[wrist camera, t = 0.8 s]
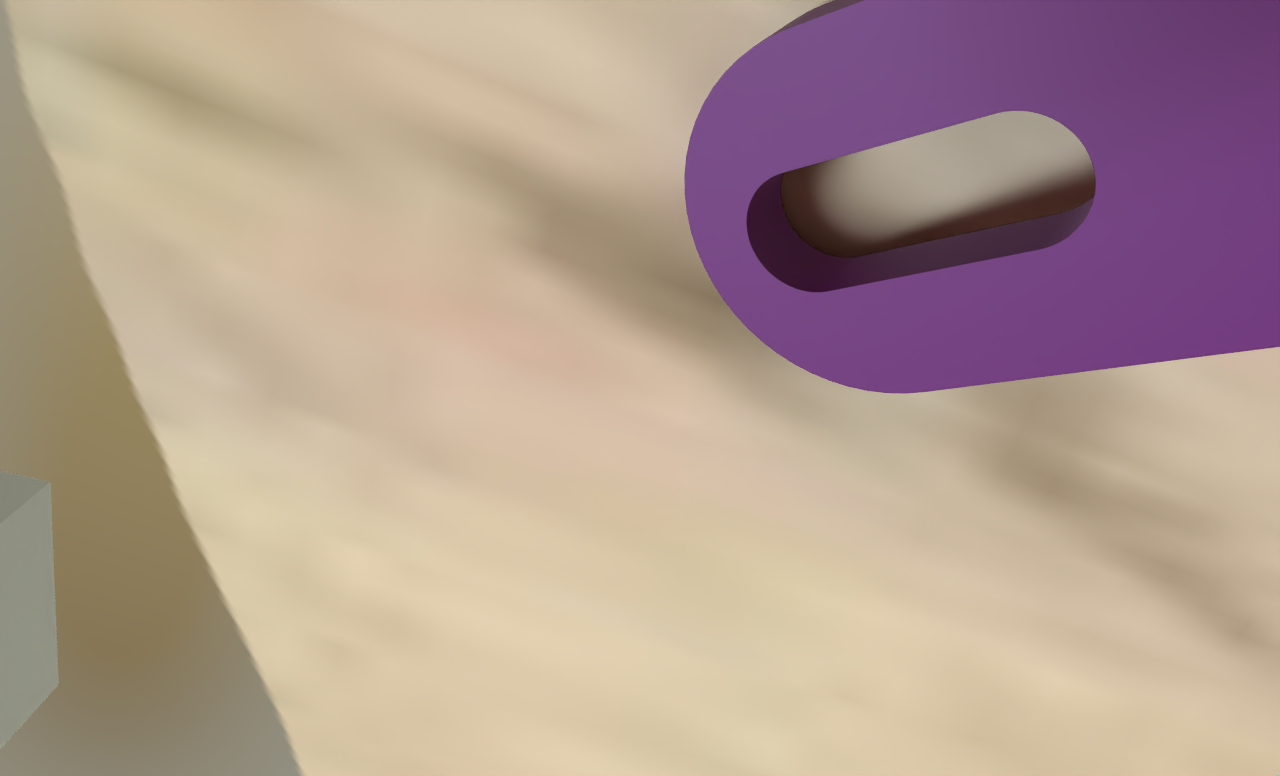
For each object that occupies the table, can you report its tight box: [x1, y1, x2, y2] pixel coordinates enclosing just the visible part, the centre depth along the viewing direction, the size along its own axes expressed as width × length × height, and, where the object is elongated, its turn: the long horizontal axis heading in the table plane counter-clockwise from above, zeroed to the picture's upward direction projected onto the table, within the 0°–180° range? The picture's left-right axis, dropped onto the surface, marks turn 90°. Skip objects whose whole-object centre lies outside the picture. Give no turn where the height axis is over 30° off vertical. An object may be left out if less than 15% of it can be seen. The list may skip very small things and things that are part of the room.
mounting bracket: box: [685, 0, 1280, 393], centre depth 27 cm, size 10×8×18 cm
